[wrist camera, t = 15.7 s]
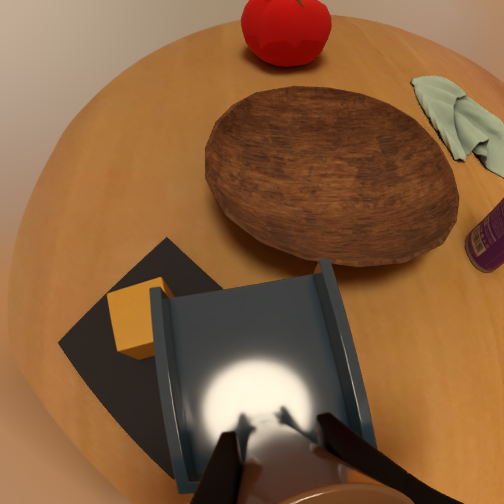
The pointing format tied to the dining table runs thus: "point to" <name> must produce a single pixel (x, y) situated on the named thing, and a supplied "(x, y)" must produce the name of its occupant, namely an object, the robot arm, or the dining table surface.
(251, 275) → the dining table surface
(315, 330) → the tray with wooden peg
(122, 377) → the mat
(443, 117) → the cloth
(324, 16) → the tomato
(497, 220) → the container
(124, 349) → the block
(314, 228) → the bowl
